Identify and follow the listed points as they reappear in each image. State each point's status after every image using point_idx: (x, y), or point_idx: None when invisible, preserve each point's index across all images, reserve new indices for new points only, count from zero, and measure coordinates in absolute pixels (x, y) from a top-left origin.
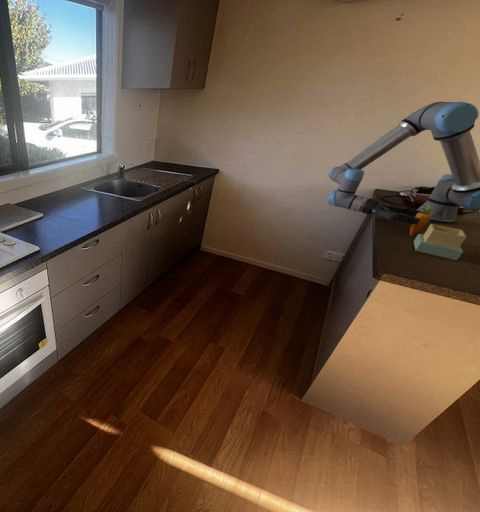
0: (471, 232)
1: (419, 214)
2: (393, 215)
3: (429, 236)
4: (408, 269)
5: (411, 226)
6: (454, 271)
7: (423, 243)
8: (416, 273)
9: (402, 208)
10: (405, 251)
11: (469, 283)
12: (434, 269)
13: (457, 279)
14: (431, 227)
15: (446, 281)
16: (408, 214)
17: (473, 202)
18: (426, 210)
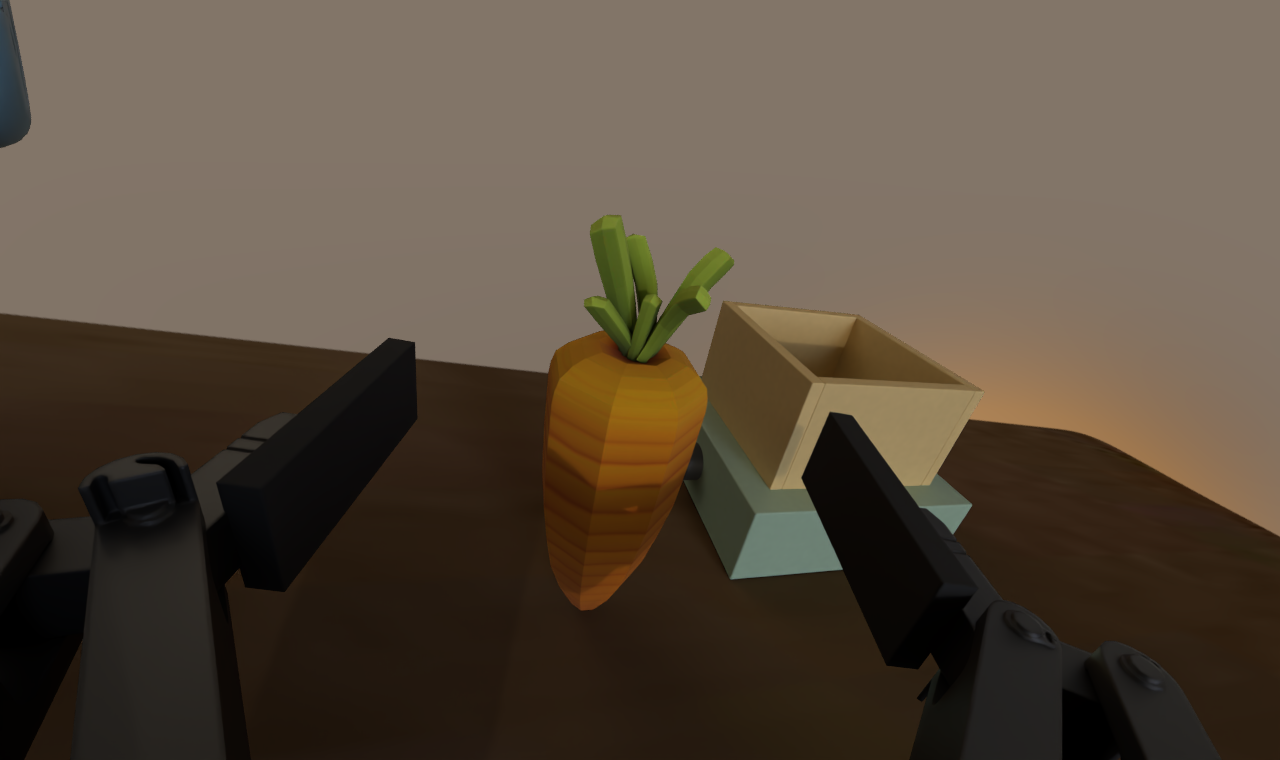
0: (76, 326)
1: (688, 396)
2: (1176, 700)
3: (952, 440)
4: (1260, 575)
5: (636, 556)
6: (965, 447)
7: (955, 495)
8: (1235, 547)
9: (205, 613)
10: (1043, 609)
11: (1010, 428)
12: (1064, 495)
13: (1033, 447)
14: (903, 392)
15: (1111, 472)
16: (308, 554)
17: (12, 55)
18: (628, 306)
